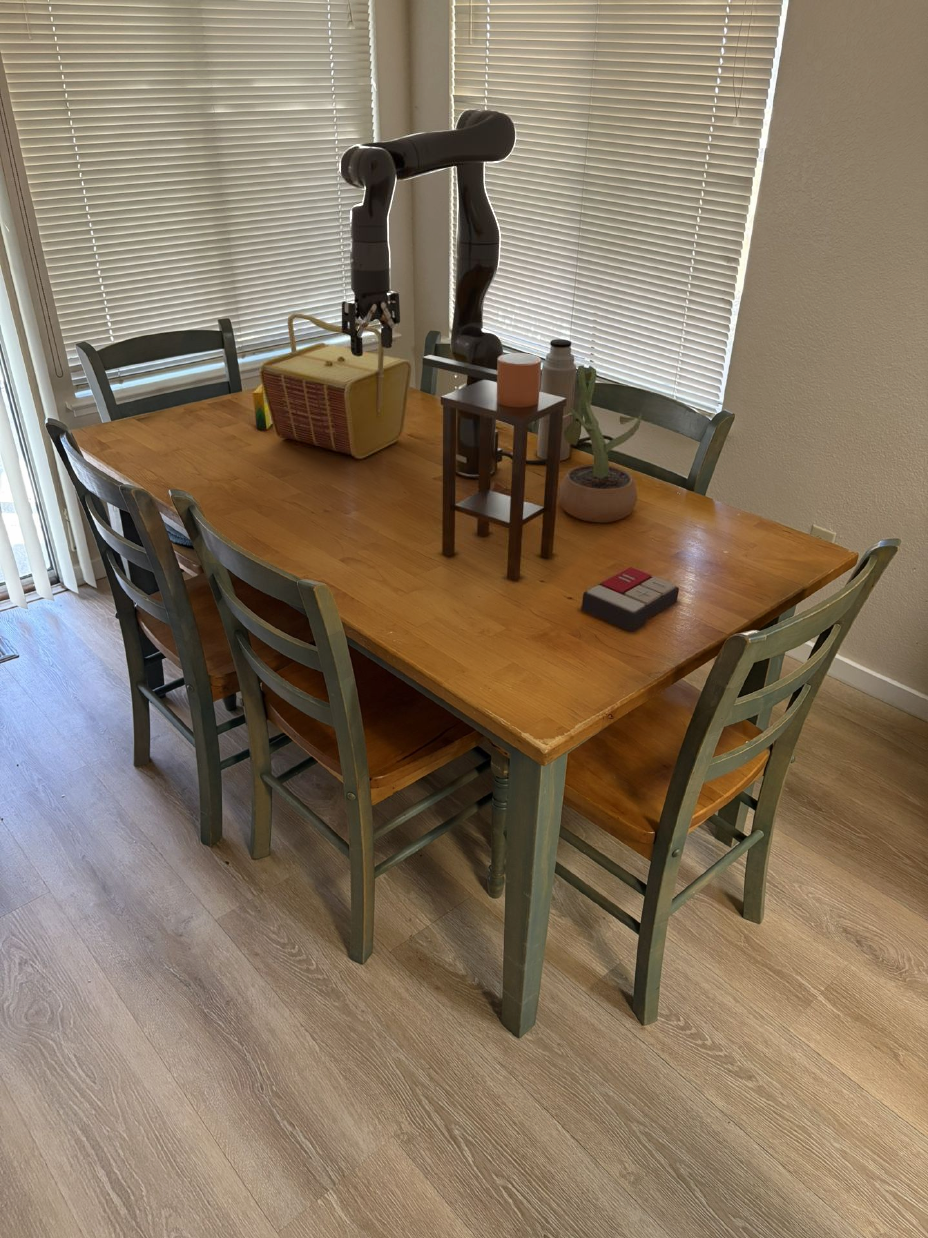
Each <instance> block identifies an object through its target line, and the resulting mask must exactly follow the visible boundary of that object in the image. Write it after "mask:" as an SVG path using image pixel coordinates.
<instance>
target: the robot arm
mask: <svg viewBox="0 0 928 1238" xmlns="http://www.w3.org/2000/svg"><path fill="white" fill-rule="evenodd" d="M516 140H517V130H516V126H515V123H514V121H513V119H512V118H511V117H510V115H508V114H506V113H505V112H502V111H499V110H491V109H480V108H479V109H478V108H468V109H466V110H464V111H463V112H462V113H460V115H459V117H458V119H457V121H456V123H455V128H454V129H449V130H437V131H436V130H435V131H427V132H419V133H413V134H410V135H405V136H402V137H399V138H394V139H392V140H387V141H375V142H365V143H360V144H355V145H353V146H351V147H349V148H348V149H346V150H345V151H344V152H343V154H342V156H341V158H340V161H339V172H340V176H341V178H342V179H343V181H344V182H345V183H346V184H347V185H348V186H350V187H352V188H354V189H358V190H364V194H363V198H362V202H361V203H359V204H355V205H354V206H353V207H352V208H351V210H350V212H349V213H350V215H349V224H350V225H349V227H350V228H349V229H350V247H349V264H350V268H349V269H350V272H349V273H350V289H351V291H352V292H353V294H354V298H353V301H346V300H343V301H342V303H341V326H342V333H341V334H343V335H348V336H349V337H350V338H349V339H350V349H351V352H352V354H353V355H354V356H358V357H360V356H362V355H363V352H364V351H363V347H364V346H363V333H364V329H365V327H367V326H368V327H369V324H370V323H371V322H374V321H378V323H380V326H381V327H380V333H381V346H382V347H384V349H391V348H392V346H393V329H394V327H395V325H396V324H398V325H399V324H400V322H401V309H400V308H401V307H400V294H399V293H398V292H395V291H391V286H392V285H391V248H390V243H389V242H390V241H389V239H390V237H389V214H390V211H391V208H392V202H393V198H394V193H395V189H396V183H397V181H406V180H407V181H408V180H411V179H414V178H417V177H418V178H419V177H422V176H424V175H428V174H431V173H435V172H439V171H442V170H445V169H449V168H453V167H455V176H456V177H455V178H456V198H457V199H456V213H457V214H456V222H457V223H456V240H455V241H456V242H455V244H456V245H455V287H454V288H455V291H454V308H453V317H452V326H451V333H450V346H449V347H450V354H451V357H452V360H454V361H458V362H463V363H467V364H471V365H476V366H480V367H484V368H488V369H493V370H497V365H498V357H499V356H501V355H504V346H503V343H502V339H501V338H500V336H499V335H497V334H496V333H494V332H492V331H490V330H486V329H485V328H484V321H483V319H484V318H483V317H484V306H485V305H484V304H485V300H486V297H487V294H488V292H489V289H490V288H491V285H492V284H493V281H494V280H495V277H496V275H497V272H498V269H499V265H500V257H501V256H500V255H501V230H500V226H499V225H500V224H499V223H498V220H497V217H496V214H495V212H494V210H493V209H494V208H493V207H492V204H491V202H490V198H489V197H488V193H487V190H486V184H485V183H486V182H485V163H487V164H495V163H500V162H503V161H504V160H506V159H507V158H508V157H509V156H510V155H511V153H512V152H513V150H514V148H515V145H516V142H517V141H516ZM348 326H349V328H348ZM357 326H359V327H358V329H357V330H356V328H357ZM482 380H484V379H480V378H476V377H472V376H468V375H466V383H463V384H461V385H459V386H458V387H457V389H456V390H459V389H462V388H464V387H467V386H469V385H472V384H474V383H477V382H479V381H482ZM496 429H497V420H496V419H493V425H492V455H491V476H493V475H494V474H495V472H496V471H497V470H498V463H501V462H503V456H504V457H507V458H509V459H510V460H511V461H512V457H513V453H509V452H506V451H504V449H503V448H500V447H499V434H500V433H499V431H498V430H496ZM602 435H603V438H604V440H607V441H609V442H610V441H611V440H613V439H614V438H613V437H612V436H609V435H607V434H602ZM589 441H591V439H590V437H589V436H586V437H582V438H581V437H580V438H579V440H578V442H577V444H579V443H584V442H589ZM479 443H480V415H477V414H474V413H470V412H466V411H462V410H459V409H456V475H458V476H461V477H463V478H468V479H479ZM571 447H574V445H572V444H570V448H571ZM540 464H547V459H542V458H541V459H526V465H540Z"/></svg>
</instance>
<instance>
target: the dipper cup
mask: <svg viewBox="0 0 928 1238" xmlns="http://www.w3.org/2000/svg"><path fill="white" fill-rule="evenodd" d="M422 365H423V366H427V367H431V368H435V369H438V370H439V369H440V370H443V371H448V372H452V373H456V374H459V375H463V376H467V375H468V376H472V377H476V378H480V379H485V380H489V381H493V382H497V393H496V401H497V402H498V403H499V404H501V405H504V406H508V407H515V408H524V407H531V406H534V405H536V404H538V402H539V392H540V391H541V374H542V359H541V357H539V356H537V355H535V354H531V353H526V352H511V353H503V355H501V356H499V357H498V365H497V370H493V369H488V368H484V367H480V366H476V365H471V364H467V363H463V362H458V361H454V359H450V358H446V357H441V356H436V355H433V354H428V355H426V356H423V357H422Z"/></svg>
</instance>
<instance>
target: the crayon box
mask: <svg viewBox="0 0 928 1238" xmlns="http://www.w3.org/2000/svg"><path fill="white" fill-rule="evenodd" d="M252 399H253V407H254V417H255V425H256V430H268V429H269V428H270V427H271V425H273V423H272V419H271V415H270V412H269V408H268V404H267V401H266V397H265V393H264V390H263V386H262V383H261V384H260V385H259V386H258V387H257V388H256V389H255V390H253V392H252Z"/></svg>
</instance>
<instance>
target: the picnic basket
mask: <svg viewBox="0 0 928 1238" xmlns="http://www.w3.org/2000/svg"><path fill="white" fill-rule="evenodd" d="M295 318H297V319H303V320H306V321H309V322H311V323H312V324H313V325H315V326H316V327H318V328H320V329H323V330H325V331H330V332H333V333H340V334H343V333H342V325H338V324H337V325H336V324H333V323H329V322H326V321H324V320H322V319H319V318H317V317H315V316H312V315H308V314H305V313H304V314H303V313H295V312H293V313H292V314H290V315H289V316H288V318H287V329H288V330H287V331H288V336H289V344H290V350H291V351H290V352H288V353H285V354H282V355H279V356H275V357H273V358H270V359H268V360H265V361H264V362H262V364H261V365H260V367H259V371H258V372H259V379H260V382H261V384H262V386H263V390H264V393H265V397H266V401H267V404H268V408H269V412H270V415H271V419H272V427H273V429H274V432H275V434H276V435H277V436H278V437H279V438H280V439H284V440H285V439H289V440H294V441H296V442H301V443H305V444H308V445H312V446H315V447H316V446H317V447H320V448H323V449H327V450H330V451H335V452H338V453H342V454H346V455H349V456H352V457H353V458H355V459H357V460H361V459H365V458H367V457H369V456H371V455H373V454H375V453H377V452H378V451H381V450H383V449H385V448H387V447H388V446H392V445H393V444H395V443H396V442H397V441H398V440H399V439H400V438H401V436H402V434H403V432H404V430H405V429H404V428H405V422H406V414H407V407H408V400H409V392H410V383H411V379H412V369H413V368H412V363H411V361H410V360H408V359H403V358H398V357H393V356H387V355H384V354H385V347H382V346H381V331H380V330H379V329H378V328H375V327H373V326H369V325H368V326H367V327H365V329H364V331H365V332H370V333H373V334H375V335H376V336H377V340H378V346H377V349H378V350H377V353H374V352H373V353H372V352H368V351H363V355H362V356H360V357H358V356H354V355H353V354H352V352H351V348H349V347H343V346H339V345H334V344H329V343H325V342H318V343H315V344H311V345H308V346H305V347H302V348H299V349H297V344H296V337H295V330H294V319H295ZM358 327H359V326H357V328H356V330H357V329H358ZM348 328H349V325H348ZM364 331H363V332H364Z"/></svg>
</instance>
